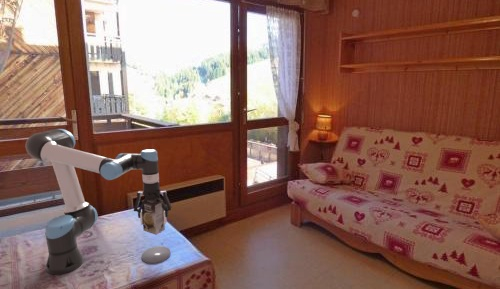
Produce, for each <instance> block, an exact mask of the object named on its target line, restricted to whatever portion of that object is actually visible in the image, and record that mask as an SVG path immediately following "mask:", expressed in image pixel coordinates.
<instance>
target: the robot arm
mask: <svg viewBox="0 0 500 289" xmlns="http://www.w3.org/2000/svg"><path fill="white" fill-rule="evenodd" d="M75 145H76V139H75V137H74V135H73V134H72V132H70V131H68V130H66V129H64V128H58V129H57V128H56V129H51V130H47V131H41V132H37V133H36V132H35V133H34V134H32V135H30V136H29V137H28V138H27V140H26V142H25V150H26V153H27V154H28V155H29V157H32V158H33V159H36V160H38V161H42V162H45V163H48V162H50V163H51V165H52V167H53V171H54V174H55V176H56V177H55V178H56V179H57V183H58V186H59V190H60V192H61V196H62V198H63V202H64V205H65V208H64V210H63V213H64V214H63V215H59V216H55V217H54V218H52V219H50V220H49V221H48V222H47V223H46V224H45V227H44V231H45V233H44V234H45V239H46V245H47V251H48V256H47V260H46V261H47V262H46V266H45V269H46V272H47V273H48V274H49V275H63V274H66V273H70V272H73V271H74V270H76V269H78V268H79V267H80V266H81V265H82V264H83V262H84V257H83V254H82V252H81V251H80V249H79V246H78V243H77V242H78V241H77V238H78V237H80V236H81V235H82V234H84V233H86V232H87V231H88V230H90V229H91V228H92V227H93V226H94V225H95V224H96V222H97V221H98V216H99V215H98V212H97V209H96V208H95V207H93V205H91V204H90V203H89V202H87V201H85V197H84V194H83V192H82V191H83V190H82V188H81V184H80V182H79V178H78V175H77V172H76V169H75V168H78V169H81V170H85V171H89V172H94V173H97V174H100V176H101V177H102V178H104V179H105V180H106V181H112V180H116V179H117V178H119V177H122V175H124V174H126V173H128V172H129V171H131V170H141V174H142V185H143V186H142V189H143V191H141V190H139V191H137V192H136V200H135V205H134V206H133V212H137V218H138V219H140V226H142V225H143V217H142V208H143V203H142V204H140V202H141V197H142V196H144V197H145V198H144V199H143V200H144V201H143V202H146V201H147V199H148V200H156V201H160V202H161V200H163V199H164V204H163V203H162V208H163V209H164V212H163V215H164V224H165V225H166V224H167V222H168V220H167V218H168V217H169V211H171V210H172V208H173V206H172V204H171V202H170V200H169V197H168V195H167V192H168V191H167V190H161V189H160V174H159V157H158V156H159V155H158V151H157V150H156V149H153V148H152V149H149V148H148V149H147V148H146V149H143V150H141V151H140V153H129V152H124V153H119V154H117V156H115V159H114V158H109V157H105V156H101V155H99V154H94V153H90V152H87V151H82V150H79V149H75ZM160 195H162V197H163V199H162V198H161V196H160ZM139 204H140V206H139Z"/></svg>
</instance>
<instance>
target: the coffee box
mask: <svg viewBox="0 0 500 289" xmlns="http://www.w3.org/2000/svg"><path fill="white" fill-rule="evenodd" d="M143 201H144V199H143V200H140V202H141V204H142V203H143V208H142V209H141V210H142V217H143V226H142V228H143V232H146V233H148V234H152V235H155V236H157V235H159V234H160V233H162V232H164V231H165V230H166V224H164V215H163V212H164V209H163V208H162V203H163V204H164V203H165V200H163V199H162V200H161V202H160V201H156V200H148V199H147V201H146V202H143ZM141 204H140V205H141Z"/></svg>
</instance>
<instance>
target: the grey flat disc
mask: <svg viewBox="0 0 500 289" xmlns="http://www.w3.org/2000/svg"><path fill="white" fill-rule="evenodd" d="M170 256H171V249H170V248H169V247H166V246H161V245H159V246H158V245H156V246H153V247H149V248H147V249H145V250H144V251H143V252H142V254H141V260H142V261H143V262H144V263H146V264H151V265H152V264H159V263H161V262H164V261H166V260H167V259H168V258H170Z"/></svg>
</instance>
